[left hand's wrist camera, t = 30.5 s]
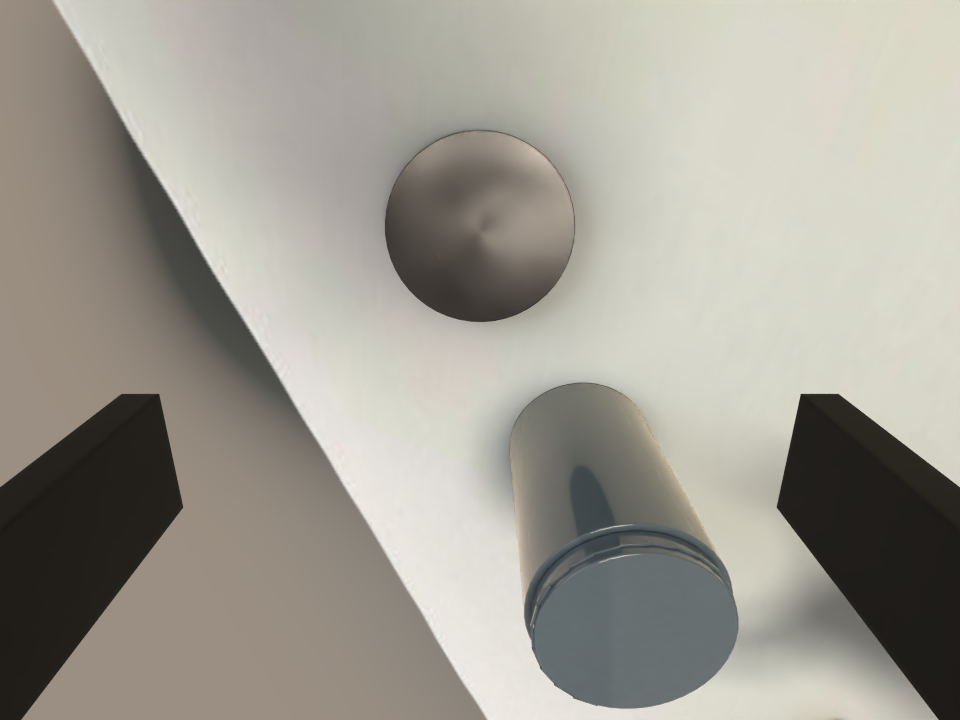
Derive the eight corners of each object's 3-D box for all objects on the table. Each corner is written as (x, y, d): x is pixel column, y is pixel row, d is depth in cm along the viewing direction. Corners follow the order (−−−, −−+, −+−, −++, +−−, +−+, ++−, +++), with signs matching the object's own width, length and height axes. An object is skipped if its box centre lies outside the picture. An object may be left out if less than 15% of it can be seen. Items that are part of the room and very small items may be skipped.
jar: (549, 360, 43) (593, 514, 26) (674, 416, 44) (791, 594, 28) (486, 474, 46) (490, 675, 30) (605, 522, 48) (671, 738, 31)
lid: (568, 311, 42) (572, 319, 40) (396, 315, 42) (392, 324, 40) (573, 126, 37) (578, 127, 36) (381, 132, 37) (376, 133, 36)
